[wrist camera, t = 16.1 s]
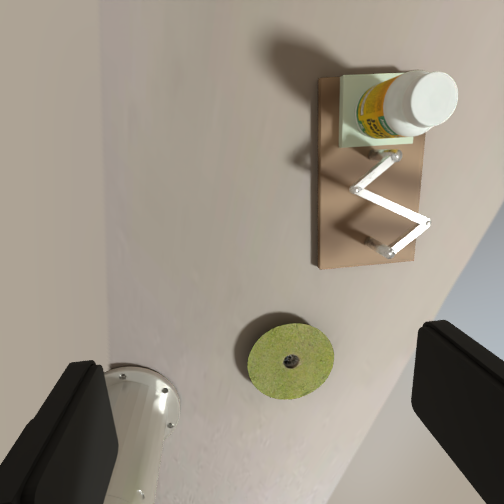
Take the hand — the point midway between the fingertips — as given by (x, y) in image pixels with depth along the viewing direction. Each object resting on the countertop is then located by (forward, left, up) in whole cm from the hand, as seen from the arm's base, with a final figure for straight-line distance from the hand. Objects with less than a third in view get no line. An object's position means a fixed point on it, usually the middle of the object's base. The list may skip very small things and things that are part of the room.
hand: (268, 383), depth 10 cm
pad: (+9, -17, -29) cm, 35 cm away
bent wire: (0, -17, -29) cm, 34 cm away
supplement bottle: (+9, -17, -28) cm, 34 cm away
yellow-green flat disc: (-20, -7, -31) cm, 37 cm away
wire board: (+3, -17, -30) cm, 35 cm away
